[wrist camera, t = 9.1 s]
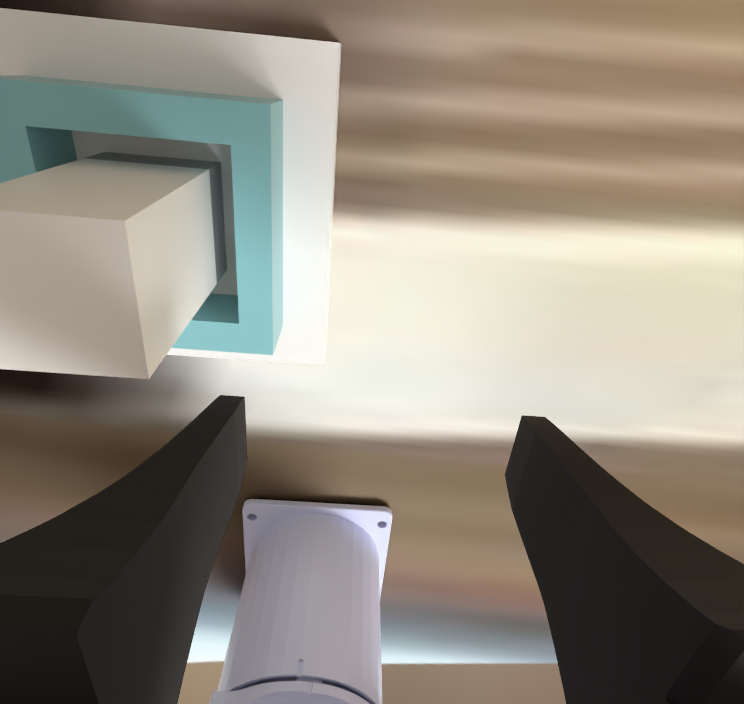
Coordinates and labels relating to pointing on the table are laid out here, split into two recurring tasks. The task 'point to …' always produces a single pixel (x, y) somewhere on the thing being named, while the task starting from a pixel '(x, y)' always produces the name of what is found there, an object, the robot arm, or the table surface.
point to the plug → (107, 262)
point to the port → (197, 152)
